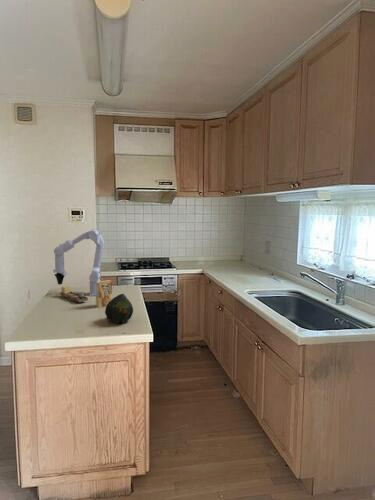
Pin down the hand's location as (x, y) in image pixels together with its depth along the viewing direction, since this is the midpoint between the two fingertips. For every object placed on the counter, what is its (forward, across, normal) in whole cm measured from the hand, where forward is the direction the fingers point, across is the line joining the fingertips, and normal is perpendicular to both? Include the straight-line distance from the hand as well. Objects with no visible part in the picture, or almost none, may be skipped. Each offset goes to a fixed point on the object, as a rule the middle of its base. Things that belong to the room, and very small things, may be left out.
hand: (60, 284), depth 249 cm
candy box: (+7, +43, +6) cm, 44 cm away
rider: (+4, +8, 0) cm, 9 cm away
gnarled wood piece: (+7, +18, 0) cm, 19 cm away
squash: (+7, +72, -4) cm, 73 cm away
